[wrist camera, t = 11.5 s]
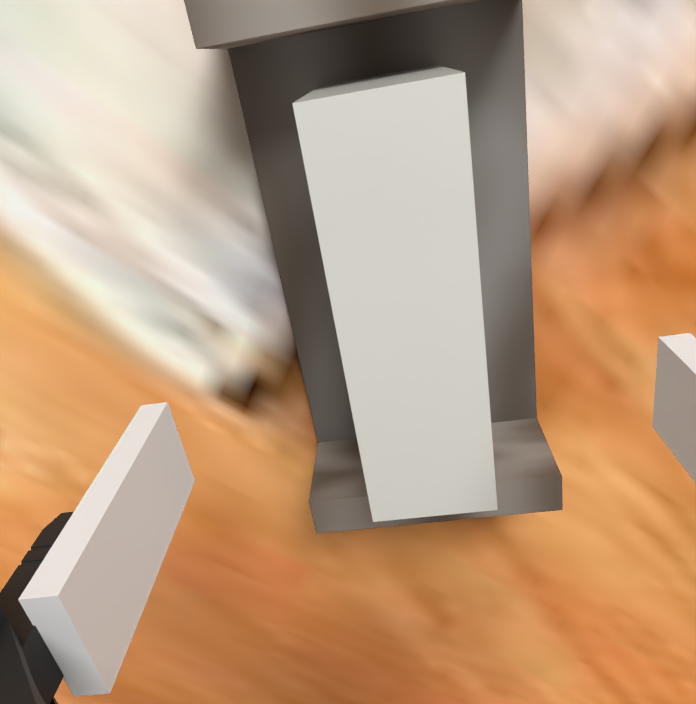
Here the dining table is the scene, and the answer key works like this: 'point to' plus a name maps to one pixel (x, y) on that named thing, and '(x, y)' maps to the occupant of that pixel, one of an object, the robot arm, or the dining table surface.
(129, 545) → the robot arm
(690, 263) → the dining table surface
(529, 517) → the dining table surface
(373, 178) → the light grey block
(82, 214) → the dining table surface
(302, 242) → the cradle rack
